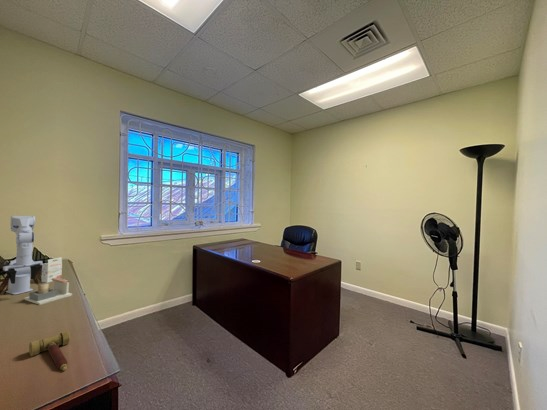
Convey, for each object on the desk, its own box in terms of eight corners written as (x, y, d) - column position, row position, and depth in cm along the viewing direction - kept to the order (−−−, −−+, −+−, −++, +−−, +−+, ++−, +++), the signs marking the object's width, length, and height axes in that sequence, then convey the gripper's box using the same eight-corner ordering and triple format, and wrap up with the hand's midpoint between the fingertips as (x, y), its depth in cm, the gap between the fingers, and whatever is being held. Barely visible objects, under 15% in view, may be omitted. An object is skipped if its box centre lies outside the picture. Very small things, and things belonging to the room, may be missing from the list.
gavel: (85, 354, 77) (43, 371, 69) (84, 367, 77) (42, 386, 69) (66, 328, 89) (29, 340, 81) (66, 340, 89) (28, 352, 81)
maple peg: (36, 297, 123) (36, 284, 123) (45, 295, 126) (46, 282, 126) (39, 299, 121) (40, 285, 121) (49, 296, 125) (50, 283, 125)
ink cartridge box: (55, 278, 157) (56, 256, 157) (61, 279, 156) (62, 257, 156) (40, 282, 148) (42, 259, 148) (46, 283, 147) (48, 259, 147)
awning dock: (24, 299, 122) (25, 283, 122) (56, 291, 135) (57, 276, 135) (39, 304, 117) (40, 287, 117) (72, 295, 130) (72, 280, 130)
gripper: (9, 258, 115) (7, 286, 115) (46, 253, 128) (45, 278, 128) (1, 257, 117) (0, 284, 117) (38, 252, 131) (37, 276, 131)
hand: (23, 281), depth 123 cm, fingers open, 7 cm apart
